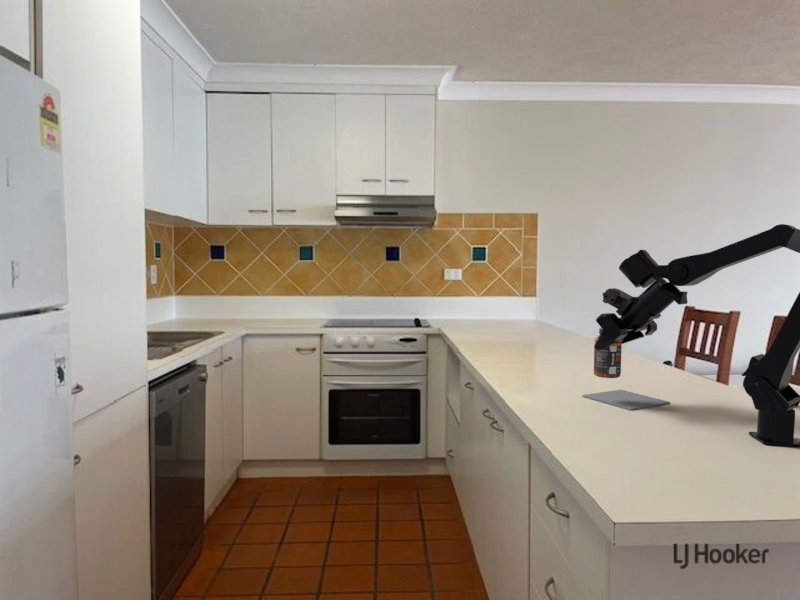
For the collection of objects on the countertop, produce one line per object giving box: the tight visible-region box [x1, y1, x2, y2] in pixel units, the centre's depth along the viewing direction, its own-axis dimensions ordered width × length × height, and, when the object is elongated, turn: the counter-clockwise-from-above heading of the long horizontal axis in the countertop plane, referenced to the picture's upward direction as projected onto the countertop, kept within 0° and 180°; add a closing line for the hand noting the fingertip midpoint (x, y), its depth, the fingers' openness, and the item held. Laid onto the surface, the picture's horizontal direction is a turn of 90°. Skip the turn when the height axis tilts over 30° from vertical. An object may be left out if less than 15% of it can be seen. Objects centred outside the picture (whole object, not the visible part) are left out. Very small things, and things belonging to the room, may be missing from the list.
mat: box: [581, 389, 671, 411], centre depth 132 cm, size 14×14×1 cm
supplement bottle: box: [593, 327, 623, 379], centre depth 128 cm, size 6×6×11 cm
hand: (602, 347), depth 129 cm, fingers closed on supplement bottle, 6 cm apart
